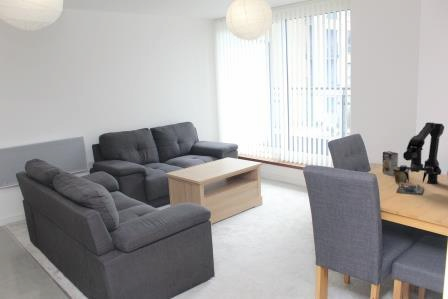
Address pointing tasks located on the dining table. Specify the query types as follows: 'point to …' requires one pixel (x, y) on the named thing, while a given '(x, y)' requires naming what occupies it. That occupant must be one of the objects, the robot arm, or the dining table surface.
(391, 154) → the coffee box
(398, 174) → the ceramic cup
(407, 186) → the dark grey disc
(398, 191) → the hub plate
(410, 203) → the dining table surface
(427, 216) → the dining table surface
